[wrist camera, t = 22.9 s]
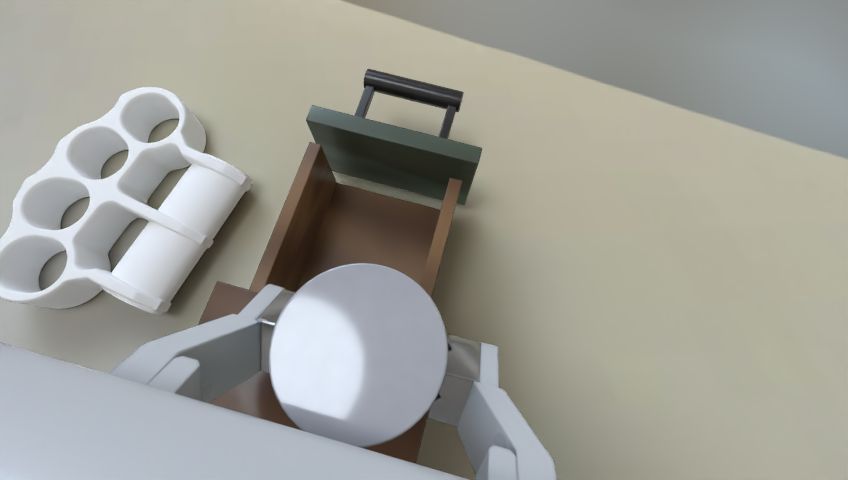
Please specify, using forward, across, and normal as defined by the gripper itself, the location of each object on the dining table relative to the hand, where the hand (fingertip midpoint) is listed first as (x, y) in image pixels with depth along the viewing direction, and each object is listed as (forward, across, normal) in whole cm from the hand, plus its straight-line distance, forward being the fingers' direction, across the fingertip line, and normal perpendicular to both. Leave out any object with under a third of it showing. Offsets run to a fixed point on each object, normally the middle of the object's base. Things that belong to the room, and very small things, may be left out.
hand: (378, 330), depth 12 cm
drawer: (+17, +4, +7) cm, 19 cm away
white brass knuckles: (+16, +23, +9) cm, 29 cm away
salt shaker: (+3, 0, +4) cm, 5 cm away
